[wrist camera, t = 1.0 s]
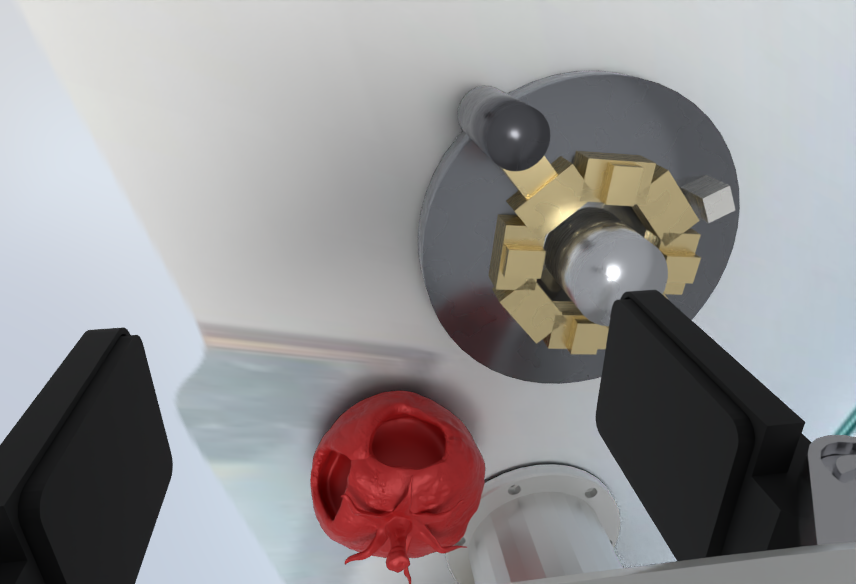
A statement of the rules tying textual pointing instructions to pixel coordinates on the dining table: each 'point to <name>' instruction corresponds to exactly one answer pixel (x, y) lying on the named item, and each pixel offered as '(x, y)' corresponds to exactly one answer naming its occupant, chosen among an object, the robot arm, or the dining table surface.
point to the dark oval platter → (575, 220)
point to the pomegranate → (397, 479)
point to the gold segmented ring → (567, 213)
